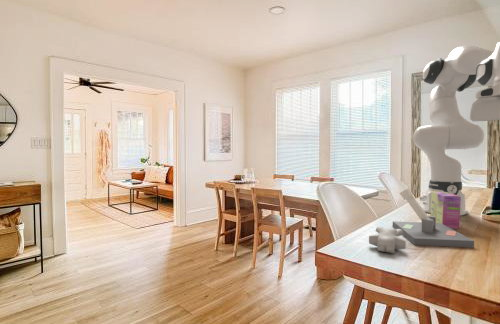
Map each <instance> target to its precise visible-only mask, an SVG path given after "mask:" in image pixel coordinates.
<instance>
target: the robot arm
mask: <svg viewBox="0 0 500 324" xmlns="http://www.w3.org/2000/svg"><path fill="white" fill-rule="evenodd" d="M422 80H423V82H424V83H426V84H429V85H436V86H435V87H434V88H433V89H432V90H431V91H430V94H429V99H428V109H429V111H428V112H429V118H430V119H429V120H430V121H431V122H432V123H433V124H428V125H422V126H418V127H417V128H416V129H415V131H414V132H413V135H412V141H413V143H414V145H415V146H416V148H418V149H419V150H421V151H422V152H423V153H424V154H425V156H427V159H428V161H429V164H430V179H429V181H428V186H427V187H428V189H426V191H425V192H424V193H422V195H420V196H419V201H420V202H421V203H418V204H419V205H420V206H421V208H422V209H423V210H424V212H425V213H427V214H428V213H429V214H431V195H432V191H436V192H448V193H451V194H454V195H457V196H460V197H461V204H460V216H465V215H466V214H468V215H469V210H467V209H466V197H465V194H464V193H463V191H462V190H463V182H462V164H461V162H460V161H458V160H457V159H456V158H453V157H451V156H449V155H447V154H446V152H445V151H446V150H469V149H474V148H478V147H479V146H481V144H482V143H483V142H484V140H485V139H484V138H485V133H484V130H483V129H482V128H481V127H480V125H478V124H475V123H473V122H486V121H487V122H488V121H489V122H492V121H498V125H499V126H500V41H499V42H497V43H496V46H495V48H494V50H491V49H486V48H482V47H479V46H474V45H461V46H457V47H455V48H454V49H453V50H451V52H450V53H449V55H448V56H447V58H446V59H443V58H442V57H439V58H438V59H436V60H432V61H430V62H428V63H427V64H426V65H425V67H424V69H423V72H422ZM476 81H477V82H478V84H480V85H481V86H486V88H483V89H480V90H478V91H476V93H475V100H473V102H472V104H471V106H470V107H471V108H470V114H469V120H470V121H471V122H470V121H468V119H466V118H464V116H462V115H461V113H460V110H459V106H458V101H457V95H456V94H457V92H458V93H459V92H463V91H465V90H467V89H468V88H470V87H471V86H472V85H473V84H474V83H475V82H476Z"/></svg>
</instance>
